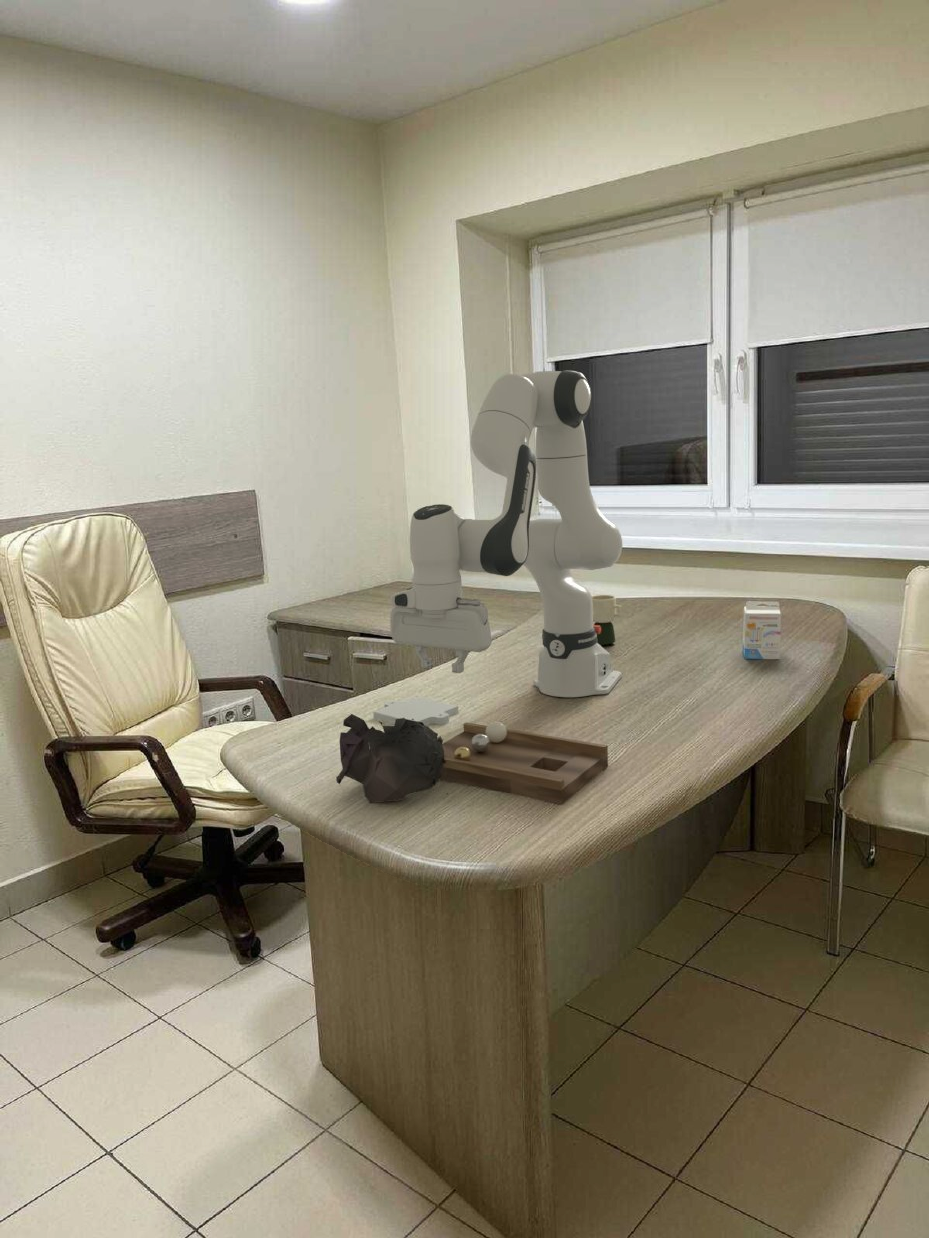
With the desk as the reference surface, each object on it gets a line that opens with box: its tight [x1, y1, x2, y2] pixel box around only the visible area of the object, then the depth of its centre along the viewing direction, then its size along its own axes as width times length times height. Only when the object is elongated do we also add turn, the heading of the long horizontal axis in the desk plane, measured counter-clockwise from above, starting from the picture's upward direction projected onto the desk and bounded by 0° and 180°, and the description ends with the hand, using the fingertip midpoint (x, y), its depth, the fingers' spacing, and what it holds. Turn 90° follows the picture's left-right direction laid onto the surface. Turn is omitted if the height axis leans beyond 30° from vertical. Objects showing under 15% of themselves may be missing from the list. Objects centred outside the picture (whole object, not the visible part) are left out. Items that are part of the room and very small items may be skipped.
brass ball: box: [454, 747, 471, 761], centre depth 161 cm, size 3×3×3 cm
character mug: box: [591, 594, 622, 646], centre depth 245 cm, size 11×7×13 cm, turn 53°
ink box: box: [741, 600, 782, 660], centre depth 226 cm, size 9×8×13 cm
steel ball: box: [471, 734, 490, 753], centre depth 166 cm, size 3×3×3 cm
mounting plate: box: [372, 695, 460, 727], centre depth 196 cm, size 18×13×2 cm
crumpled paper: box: [335, 713, 449, 804], centre depth 153 cm, size 14×15×20 cm
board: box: [440, 722, 609, 806], centre depth 163 cm, size 18×30×4 cm, turn 57°
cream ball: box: [485, 721, 507, 743], centre depth 170 cm, size 4×4×4 cm
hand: (442, 670), depth 167 cm, fingers open, 5 cm apart
